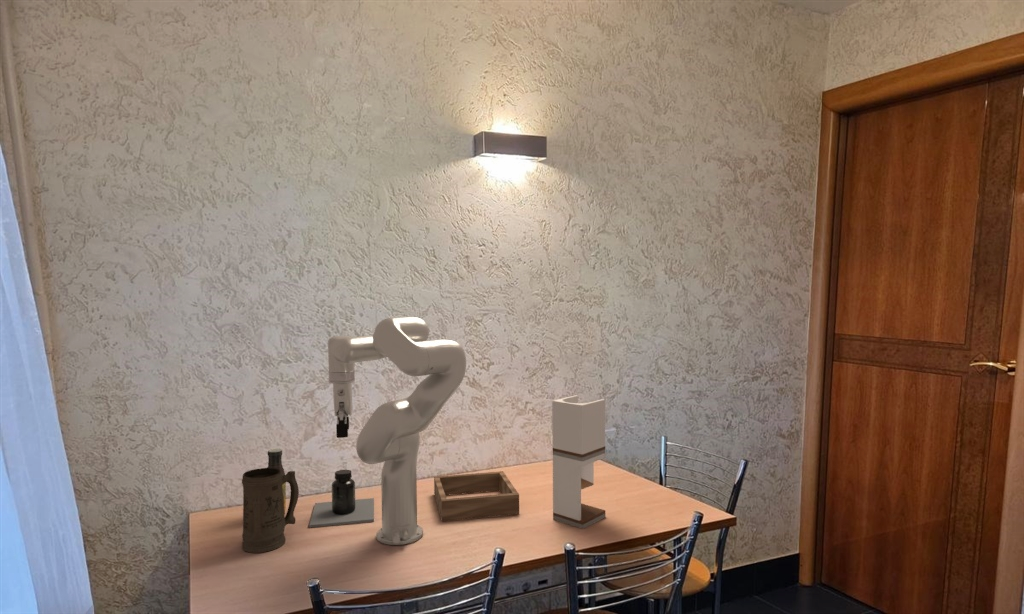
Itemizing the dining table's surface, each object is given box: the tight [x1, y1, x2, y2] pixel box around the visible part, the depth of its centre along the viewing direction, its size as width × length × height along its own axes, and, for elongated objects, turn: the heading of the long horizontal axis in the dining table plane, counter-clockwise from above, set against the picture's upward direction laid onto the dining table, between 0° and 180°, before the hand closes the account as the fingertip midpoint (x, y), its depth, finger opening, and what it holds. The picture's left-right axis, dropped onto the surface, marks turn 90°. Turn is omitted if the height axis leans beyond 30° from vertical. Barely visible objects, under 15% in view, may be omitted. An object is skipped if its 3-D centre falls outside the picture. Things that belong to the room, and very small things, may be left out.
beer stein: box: [241, 467, 300, 554], centre depth 162 cm, size 15×11×20 cm
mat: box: [308, 497, 375, 529], centre depth 183 cm, size 18×18×1 cm
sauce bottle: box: [266, 448, 287, 515], centre depth 181 cm, size 7×6×20 cm
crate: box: [433, 471, 520, 522], centre depth 189 cm, size 23×23×6 cm
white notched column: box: [551, 394, 606, 530], centre depth 177 cm, size 11×11×35 cm
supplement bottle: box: [331, 469, 356, 515], centre depth 182 cm, size 7×7×12 cm
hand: (343, 433), depth 182 cm, fingers open, 9 cm apart
